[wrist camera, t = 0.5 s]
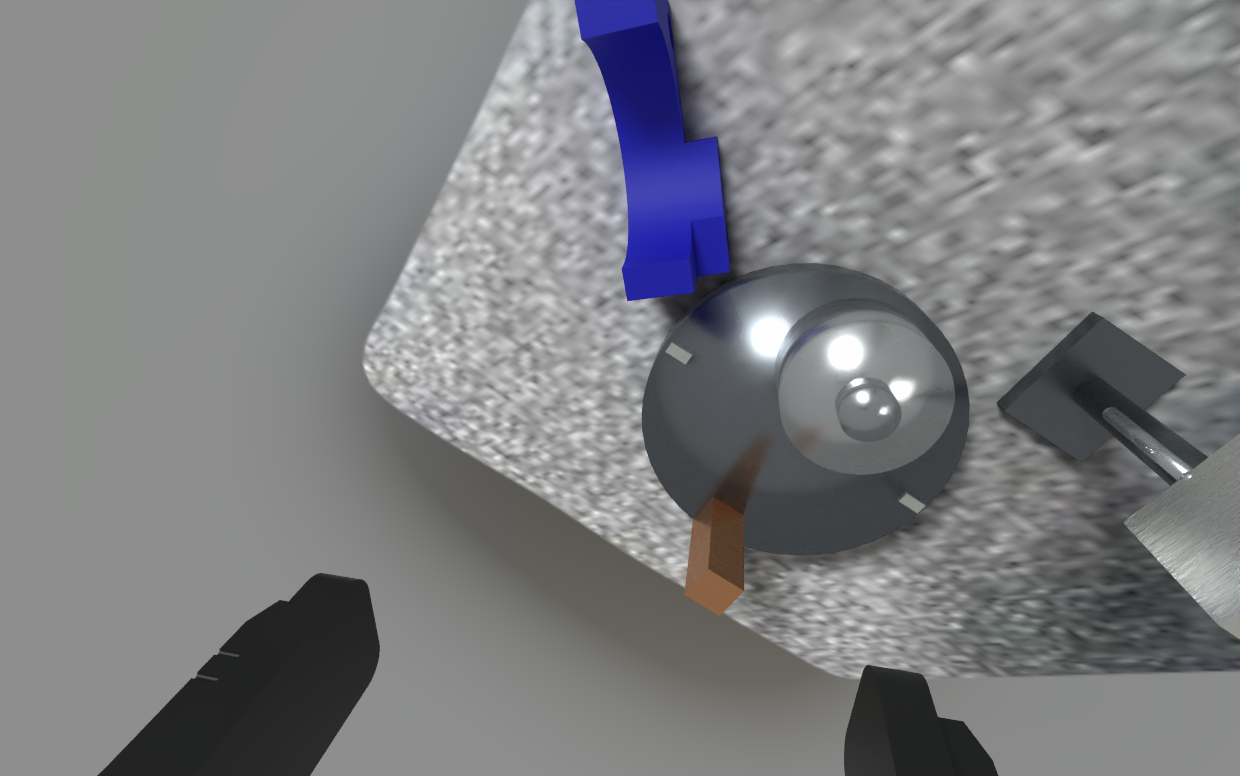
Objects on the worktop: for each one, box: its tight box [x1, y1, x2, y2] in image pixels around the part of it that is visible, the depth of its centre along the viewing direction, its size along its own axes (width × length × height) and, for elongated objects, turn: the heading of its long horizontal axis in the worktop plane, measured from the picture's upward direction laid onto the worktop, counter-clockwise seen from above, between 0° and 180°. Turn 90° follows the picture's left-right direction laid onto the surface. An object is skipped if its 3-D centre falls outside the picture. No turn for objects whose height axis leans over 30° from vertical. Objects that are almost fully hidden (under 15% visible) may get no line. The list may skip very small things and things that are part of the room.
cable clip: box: [575, 0, 730, 301], centre depth 28 cm, size 12×4×6 cm, turn 10°
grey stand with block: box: [997, 312, 1240, 639], centre depth 24 cm, size 6×5×16 cm
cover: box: [775, 298, 955, 475], centre depth 27 cm, size 7×7×5 cm
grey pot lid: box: [642, 263, 970, 616], centre depth 30 cm, size 16×16×8 cm
